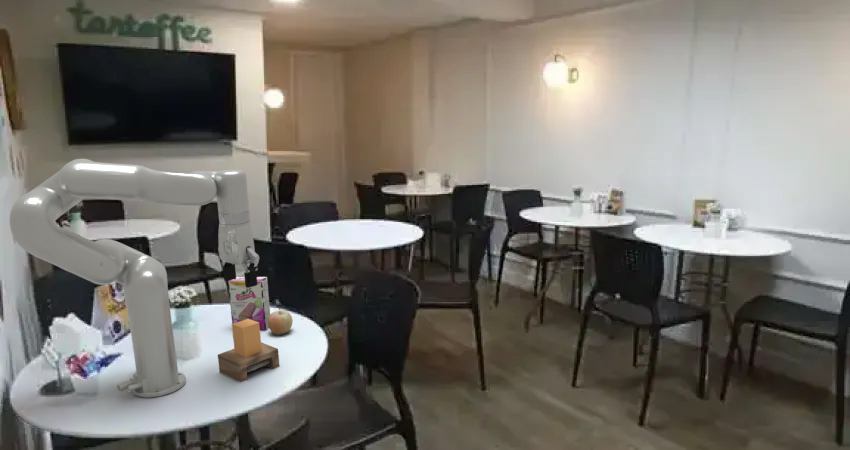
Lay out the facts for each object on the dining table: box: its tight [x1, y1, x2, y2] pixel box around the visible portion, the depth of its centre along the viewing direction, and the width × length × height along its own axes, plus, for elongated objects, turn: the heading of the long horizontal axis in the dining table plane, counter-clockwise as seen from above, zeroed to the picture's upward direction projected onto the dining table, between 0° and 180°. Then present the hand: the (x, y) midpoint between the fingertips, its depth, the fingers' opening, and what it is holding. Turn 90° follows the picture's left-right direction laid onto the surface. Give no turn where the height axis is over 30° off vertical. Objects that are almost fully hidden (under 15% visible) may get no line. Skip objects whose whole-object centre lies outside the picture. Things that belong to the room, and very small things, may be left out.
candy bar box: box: [227, 276, 271, 331], centre depth 192 cm, size 11×5×16 cm, turn 84°
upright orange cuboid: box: [231, 319, 262, 357], centre depth 162 cm, size 5×5×8 cm
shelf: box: [217, 341, 281, 383], centre depth 163 cm, size 12×10×5 cm
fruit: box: [268, 307, 293, 336], centre depth 188 cm, size 8×7×8 cm
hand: (240, 283), depth 159 cm, fingers open, 9 cm apart
